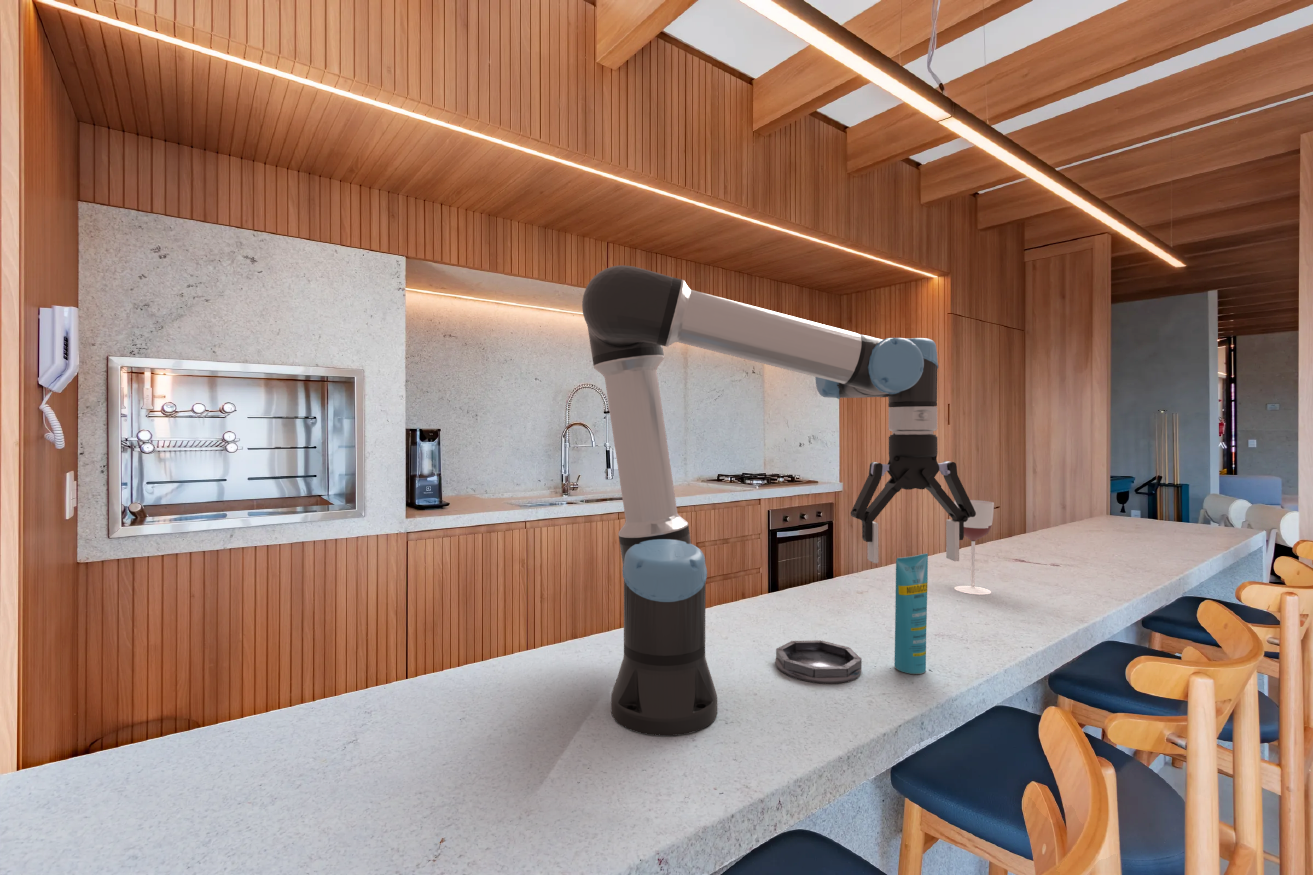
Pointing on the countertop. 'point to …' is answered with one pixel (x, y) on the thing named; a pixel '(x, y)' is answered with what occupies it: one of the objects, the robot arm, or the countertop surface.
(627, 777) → the countertop surface
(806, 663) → the octagonal bowl
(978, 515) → the wineglass
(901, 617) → the tube
